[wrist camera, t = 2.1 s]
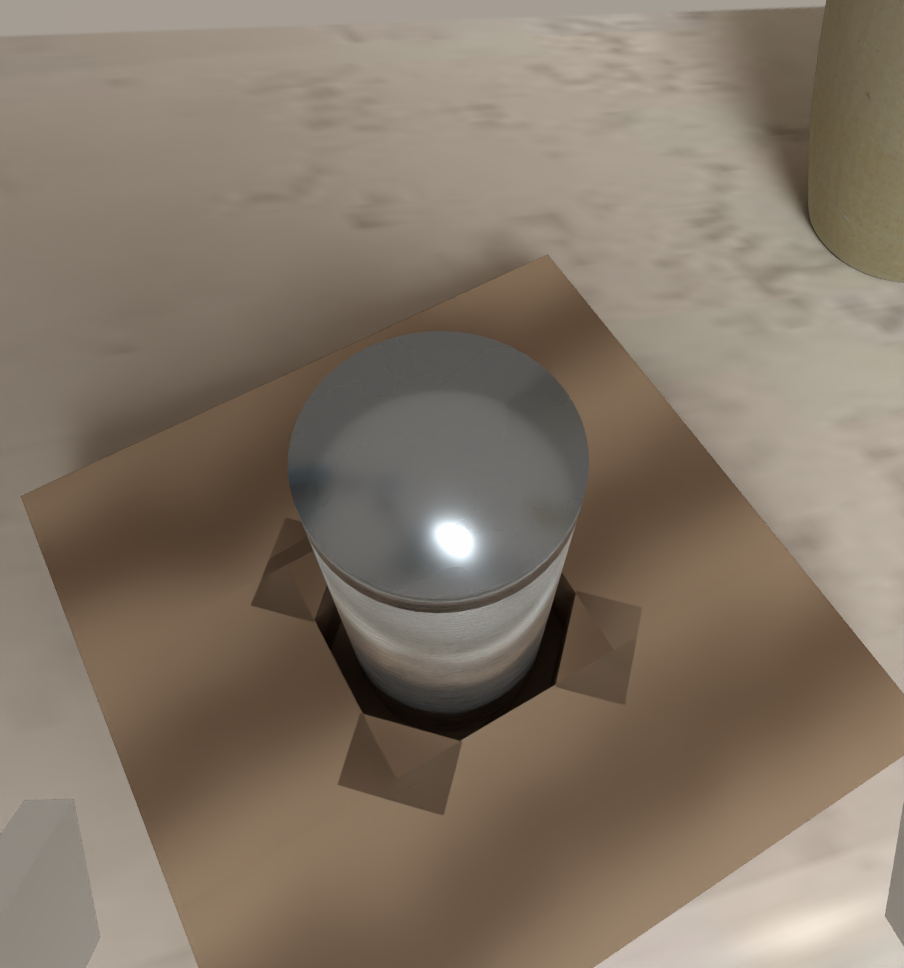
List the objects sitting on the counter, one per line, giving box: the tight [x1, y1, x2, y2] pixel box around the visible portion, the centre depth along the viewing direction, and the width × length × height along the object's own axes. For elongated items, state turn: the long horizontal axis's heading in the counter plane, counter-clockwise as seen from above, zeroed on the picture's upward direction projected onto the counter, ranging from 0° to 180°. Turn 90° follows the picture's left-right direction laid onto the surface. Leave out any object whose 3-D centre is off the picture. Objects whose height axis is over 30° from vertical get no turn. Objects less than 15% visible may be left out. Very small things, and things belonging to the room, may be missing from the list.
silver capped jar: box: [288, 331, 589, 731], centre depth 23 cm, size 6×6×13 cm
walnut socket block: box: [21, 254, 904, 968], centre depth 27 cm, size 20×20×4 cm
